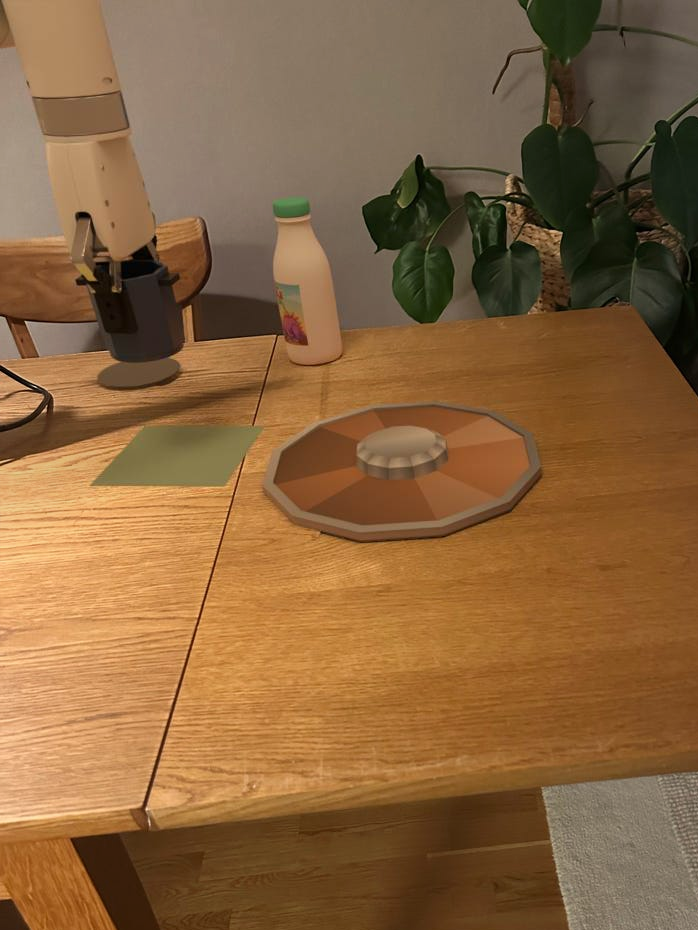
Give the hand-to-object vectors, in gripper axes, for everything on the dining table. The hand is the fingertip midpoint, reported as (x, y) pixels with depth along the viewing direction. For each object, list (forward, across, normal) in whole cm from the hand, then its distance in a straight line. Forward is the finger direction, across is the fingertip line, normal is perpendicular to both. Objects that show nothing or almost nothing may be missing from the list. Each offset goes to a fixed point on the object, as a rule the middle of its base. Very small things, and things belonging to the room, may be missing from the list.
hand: (138, 317), depth 86 cm
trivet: (+16, -24, -14) cm, 32 cm away
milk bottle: (+15, -31, +9) cm, 35 cm away
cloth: (+15, 0, +1) cm, 15 cm away
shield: (+15, +3, +27) cm, 31 cm away
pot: (+3, 0, 0) cm, 3 cm away
